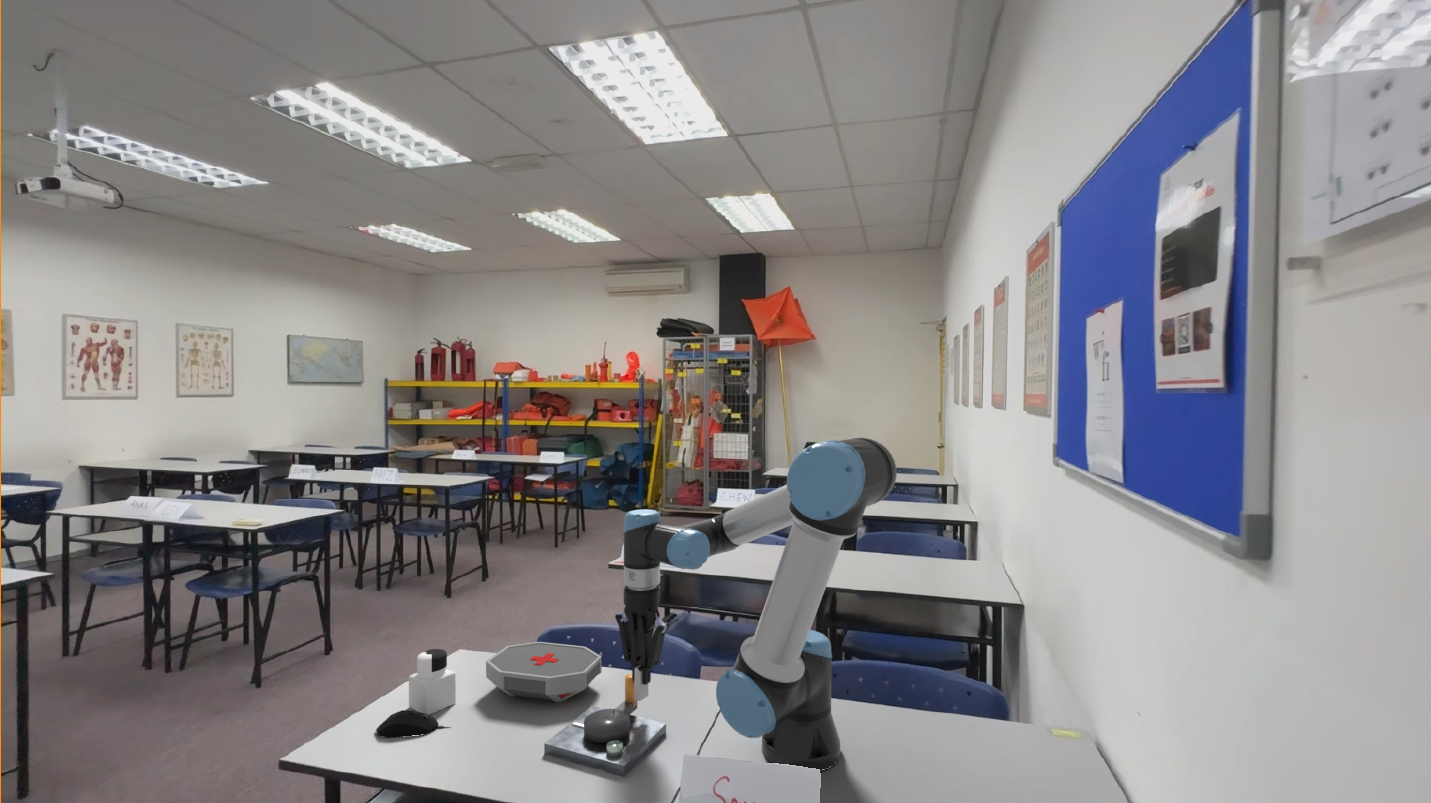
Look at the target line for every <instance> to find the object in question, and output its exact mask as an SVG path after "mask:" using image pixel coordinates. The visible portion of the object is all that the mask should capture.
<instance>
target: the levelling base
mask: <svg viewBox="0 0 1431 803" xmlns="http://www.w3.org/2000/svg"><path fill="white" fill-rule="evenodd" d="M603 709H605V708H604V707H599V706H595V705H591V706H590V707H589V708H587V709H586V710H585V711H584V712H583V713H582V714H580V715H579V716H577V717H576V718H575V719H574V720H572V721H571V722H570V723H568V725H566V726H564V728H562V729H561V730H559V731H558V732H557V733H556V734H555V735H553V736H552V737H550V738H549V739H548V740H547V741H545V742H544V743H543V744H544V750H543V754H545V755H548V756H551V757H554V758H558V759H561V760H565V761H568V762H571V763H576V764H578V765H582V766H586V767H589V768H593V769H596V770H599V771H603V772H607V773H610V774H614V775H616V776H619V777H624V778H625V777H626V775H627V774H628V773H630V771H631V770H632V769H633V768H635V766H636V765H637V764H638V763H639V762H640V761H641V760H642V759H643V758H644V757H645V756H646V754H647V753H649V751H651V750H652V749H653V747H654V746H655V745H657V743H658V742H659V741H660V740H661V739H662V738H663V737H664V736H665V735H666V734H667V723H666V722H662V721H658V720H653V719H649V718H645V717H640V716H636V715H632V714H630V715H629V717H630V731H629V733H628V734H627V735H626V736H625V737H623V738H622V739H619V740H614V741H610V742H608V743H599V742H593V741H591V740H589V739H587V738H586V737H585V735H584V720H585V718H586V717H587V716H588V715H590V714H591V713H593V712H595V711H599V710H603Z"/></svg>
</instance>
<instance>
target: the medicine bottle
mask: <svg viewBox="0 0 1431 803" xmlns="http://www.w3.org/2000/svg"><path fill="white" fill-rule="evenodd" d="M456 681H457V680H456V672H455V671H452V670H450V669H448V652H447V651H446V650H444V649H442V648H431V649H427V650H424V651H422V652H421V653H419V654H418V655H417V658H416V672H415V673H413V674H412V673H411V674H410V675H409V676H408V707H409V708H411V709H412V710H413V711H417V712H421V713H425V714H427V715H430V714H431V715H433V714H435V713H437V712H439V710H440V711H441V710H444V709H447V708H449V707H452V706H453V705H455V704H456V698H457V697H456V696H457V695H456V691H457V690H456V689H457V688H456V685H457V684H456V683H457V682H456ZM448 706H449V707H448ZM446 707H447V708H446ZM431 715H430V716H431Z"/></svg>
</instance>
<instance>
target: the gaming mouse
mask: <svg viewBox="0 0 1431 803" xmlns="http://www.w3.org/2000/svg"><path fill="white" fill-rule="evenodd" d="M451 727H452V726H451ZM451 727H449V726H444V725H439V722H438V720H437V719H436V718H435V717H434V716H432V715H427V714H425V713H421V712H417V711H416V710H409V709H407V710H406V709H404V710H403V709H402V710H399V711H397V712H394V713H392V714H390V716H388V717H387V718H386V719H385V720H384V721H383V722H382V723H380V724H379V725H378V727H376V729H375V731H376V733H377V735H378V736H379V737H382V738H385V737H386V738H387V739H394V738H396V737H397V738H404V737H403V736H412V735H421V734H426V735H428V734H427V733H429V734H431V733H432V732H434V731H436V730H437V729H439V730H441V729H452V728H451ZM431 731H432V732H431ZM430 732H431V733H430Z"/></svg>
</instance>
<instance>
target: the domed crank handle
mask: <svg viewBox="0 0 1431 803" xmlns="http://www.w3.org/2000/svg"><path fill="white" fill-rule="evenodd" d="M624 676H625V677H624V701H622V702H621V703H620V704H619V705H617V706H616V707H615V708H604V709H603V710H599V711H595V712H593V713H591V714H590V715H588V716H587V717H586V718H585V720H584V735H585V737H586V738H587V739H589V740H591V741H593V742H599V743H608V742H610V741H614V740H619V739H622V738H623V737H625V736H626V735H627V734H628V733H629V731H630V717H629V715H632V713H633V712H635V711H636V710H637V709H638V700H635V699H634V681H633V679H632V673H629V674H626V675H624Z"/></svg>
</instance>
